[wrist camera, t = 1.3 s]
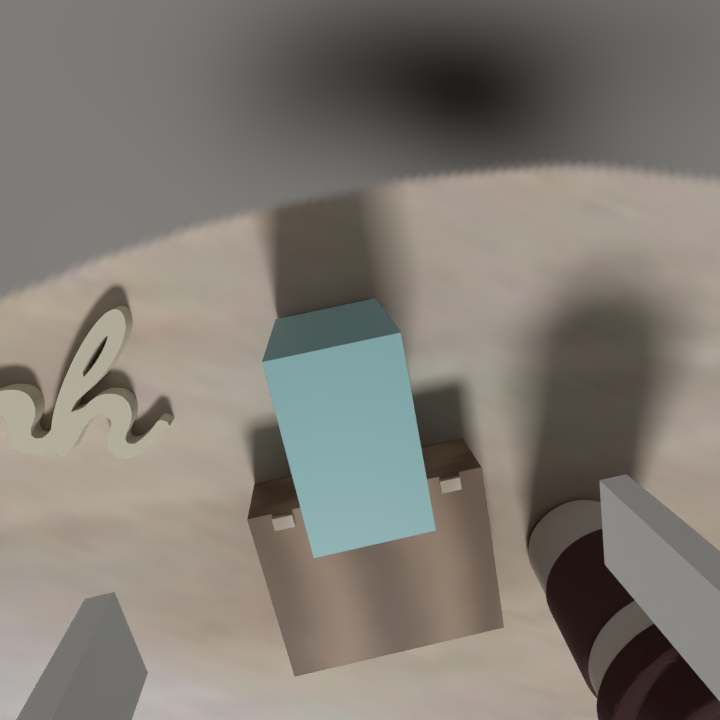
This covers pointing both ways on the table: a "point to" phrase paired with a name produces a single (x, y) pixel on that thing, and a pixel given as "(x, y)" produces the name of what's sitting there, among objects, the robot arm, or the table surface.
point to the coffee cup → (611, 625)
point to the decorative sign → (71, 419)
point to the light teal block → (348, 426)
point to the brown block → (381, 573)
